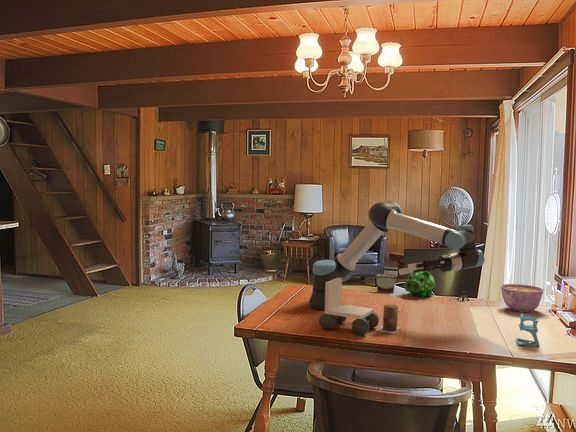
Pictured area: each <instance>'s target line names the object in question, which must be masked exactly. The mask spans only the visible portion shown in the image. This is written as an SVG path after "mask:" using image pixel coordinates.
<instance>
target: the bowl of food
mask: <svg viewBox="0 0 576 432" xmlns="http://www.w3.org/2000/svg"><path fill="white" fill-rule="evenodd" d="M500 289H501V295H502V300H503V302H504V304H505V305H506V306H507V307H508V308H510V309H513V310H512V311H514V310H516V311H515V312H518V311H521V312H520V313H529V312H530V311H533V310H536V309H538V307H539V305H540V304H541V300H542V297H543V294H544V290H545V289H544V288H542V287H539V286H535V285H534V286H533V285H531V284H530V285H528V284H522V283H521V284H520V283H519V284H518V283H507V284H501V286H500Z"/></svg>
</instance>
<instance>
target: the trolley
mask: <svg viewBox="0 0 576 432" xmlns="http://www.w3.org/2000/svg"><path fill="white" fill-rule="evenodd" d="M342 283H343V282H342V278H336V279H333V280H331V281H328V282H326V283H325V310H324V313H323V314H321V316H319V319H318V322H319V326H320V327H321V329H323V330H325V331H330V330H332V329H334V328H335V326H337V324H338V323H339V324H343V323H344V322H345V321H346V320H347V318H351V319H354V320H353V321H352V323H351V330H352V332H353V333H354V334H355V335H356V336H358V337H359V336H360V337H362V336H365V335H366V334H367V333H368V332H369V330H370V329H374V328H376V327H378V325H379V323H380V318H379V315H378V314H376V312H374V311H375V309H374V308H372V307H362V306H357V305H350V304H342V291H343V288H342V287H343V285H342Z"/></svg>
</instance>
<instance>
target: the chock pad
mask: <svg viewBox="0 0 576 432" xmlns="http://www.w3.org/2000/svg"><path fill="white" fill-rule="evenodd" d="M400 329H401V327H400V326H397V330H396V331H386V330H384V329H383V324H382V325H381V326H379V327H378V328H377V329H375V332H380V333H384V334H392V335H395V334H396V332H398V331H399V330H400Z"/></svg>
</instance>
